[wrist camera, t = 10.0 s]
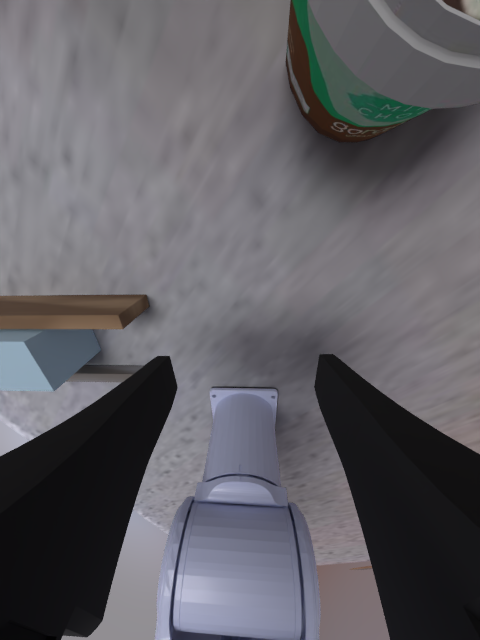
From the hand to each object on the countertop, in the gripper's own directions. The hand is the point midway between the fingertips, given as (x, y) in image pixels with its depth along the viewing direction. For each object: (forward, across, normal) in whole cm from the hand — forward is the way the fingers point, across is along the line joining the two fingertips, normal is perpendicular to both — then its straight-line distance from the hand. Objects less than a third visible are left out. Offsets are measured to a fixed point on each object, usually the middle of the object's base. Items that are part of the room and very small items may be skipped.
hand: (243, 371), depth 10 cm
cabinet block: (+10, +19, +3) cm, 22 cm away
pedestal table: (+10, +18, +4) cm, 21 cm away
